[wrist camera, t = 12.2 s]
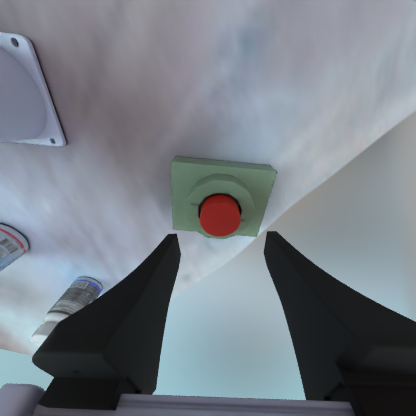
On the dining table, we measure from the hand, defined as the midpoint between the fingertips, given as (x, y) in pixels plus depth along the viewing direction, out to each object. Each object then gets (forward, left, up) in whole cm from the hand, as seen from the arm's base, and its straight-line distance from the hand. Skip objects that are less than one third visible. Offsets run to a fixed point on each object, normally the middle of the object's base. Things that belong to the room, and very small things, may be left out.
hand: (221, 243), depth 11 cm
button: (0, 0, -5) cm, 5 cm away
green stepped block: (0, 0, -8) cm, 8 cm away
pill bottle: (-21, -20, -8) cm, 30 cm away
